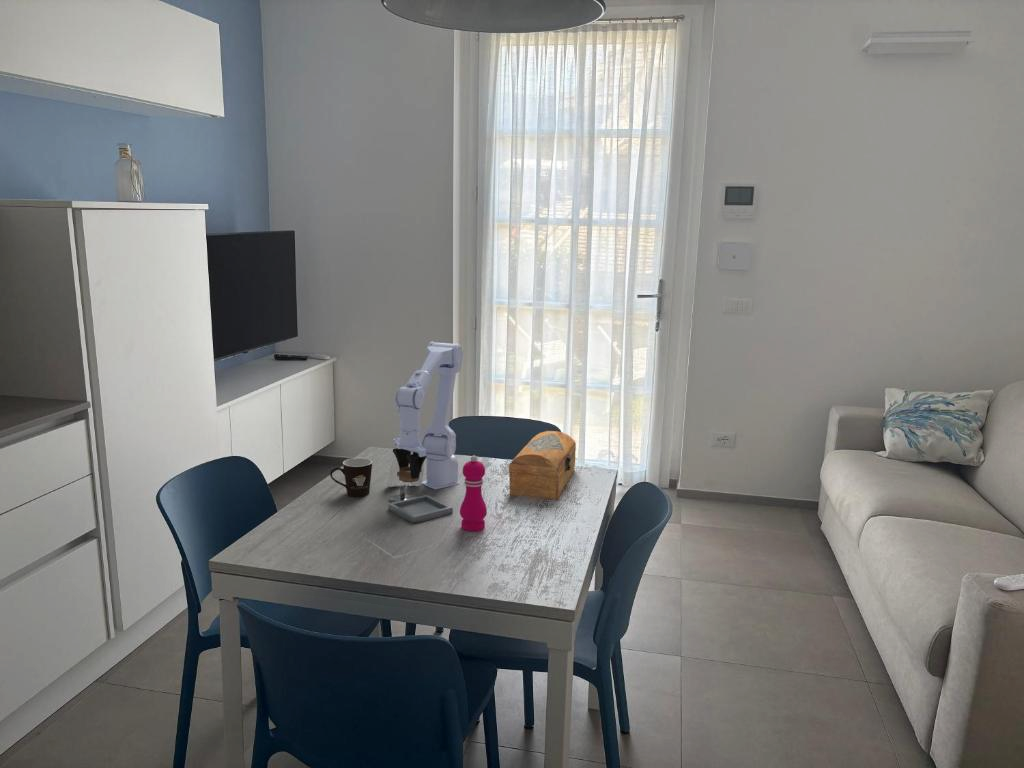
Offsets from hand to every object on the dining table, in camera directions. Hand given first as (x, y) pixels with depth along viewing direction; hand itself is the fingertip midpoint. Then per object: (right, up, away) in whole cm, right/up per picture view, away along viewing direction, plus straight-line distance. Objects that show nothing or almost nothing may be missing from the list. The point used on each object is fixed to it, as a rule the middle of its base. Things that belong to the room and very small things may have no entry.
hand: (409, 475), depth 225 cm
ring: (0, -1, 0) cm, 1 cm away
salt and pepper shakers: (-4, -6, +17) cm, 19 cm away
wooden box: (+40, -6, +24) cm, 47 cm away
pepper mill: (+19, -13, -14) cm, 26 cm away
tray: (+3, -10, -3) cm, 11 cm away
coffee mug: (-18, -7, +10) cm, 22 cm away
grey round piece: (-3, -8, +6) cm, 10 cm away
